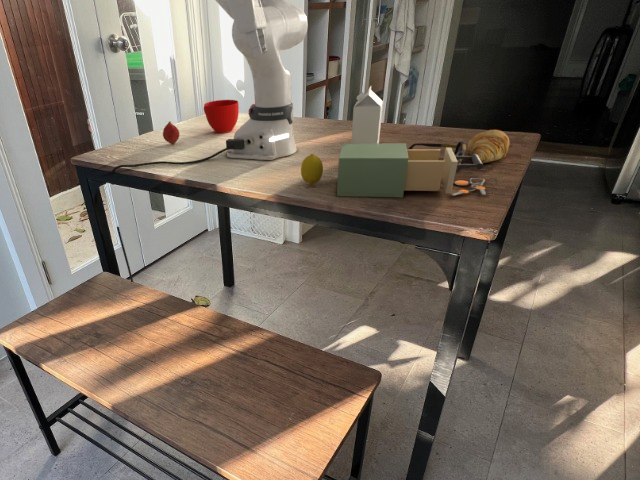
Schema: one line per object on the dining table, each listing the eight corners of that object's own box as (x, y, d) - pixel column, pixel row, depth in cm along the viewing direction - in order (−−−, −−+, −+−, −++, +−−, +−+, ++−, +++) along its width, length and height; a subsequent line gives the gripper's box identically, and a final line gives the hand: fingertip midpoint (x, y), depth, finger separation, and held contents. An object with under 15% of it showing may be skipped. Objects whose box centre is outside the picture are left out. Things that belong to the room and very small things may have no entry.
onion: (161, 146, 156) (157, 123, 151) (169, 142, 160) (166, 119, 155) (175, 147, 154) (172, 123, 149) (183, 142, 158) (180, 119, 153)
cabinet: (400, 179, 111) (405, 143, 106) (402, 197, 101) (408, 158, 96) (340, 179, 115) (342, 143, 110) (336, 195, 105) (338, 158, 100)
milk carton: (377, 156, 128) (384, 85, 118) (375, 163, 123) (382, 90, 112) (352, 155, 130) (357, 86, 120) (349, 162, 125) (354, 90, 114)
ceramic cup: (219, 124, 178) (216, 97, 173) (247, 129, 168) (245, 101, 162) (194, 131, 172) (190, 104, 166) (221, 136, 161) (219, 107, 155)
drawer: (470, 177, 106) (477, 147, 102) (478, 194, 97) (486, 161, 93) (386, 176, 111) (389, 147, 107) (386, 192, 102) (390, 161, 98)
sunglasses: (404, 155, 127) (407, 137, 124) (462, 157, 122) (466, 139, 119) (399, 170, 117) (401, 151, 114) (461, 174, 111) (466, 154, 108)
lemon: (321, 189, 110) (322, 157, 105) (299, 189, 111) (299, 157, 106) (322, 181, 114) (324, 150, 110) (301, 181, 115) (301, 150, 111)
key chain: (456, 178, 108) (457, 175, 108) (489, 181, 105) (490, 177, 105) (448, 196, 99) (449, 192, 99) (484, 200, 96) (485, 196, 96)
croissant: (485, 180, 115) (508, 155, 109) (453, 159, 117) (474, 133, 111) (502, 156, 128) (523, 133, 122) (473, 137, 130) (492, 113, 124)
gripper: (234, -12, 95) (253, 57, 102) (216, -19, 78) (240, 64, 85) (261, -23, 94) (279, 47, 100) (249, -33, 77) (271, 52, 83)
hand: (261, 55), depth 92 cm, fingers open, 8 cm apart
